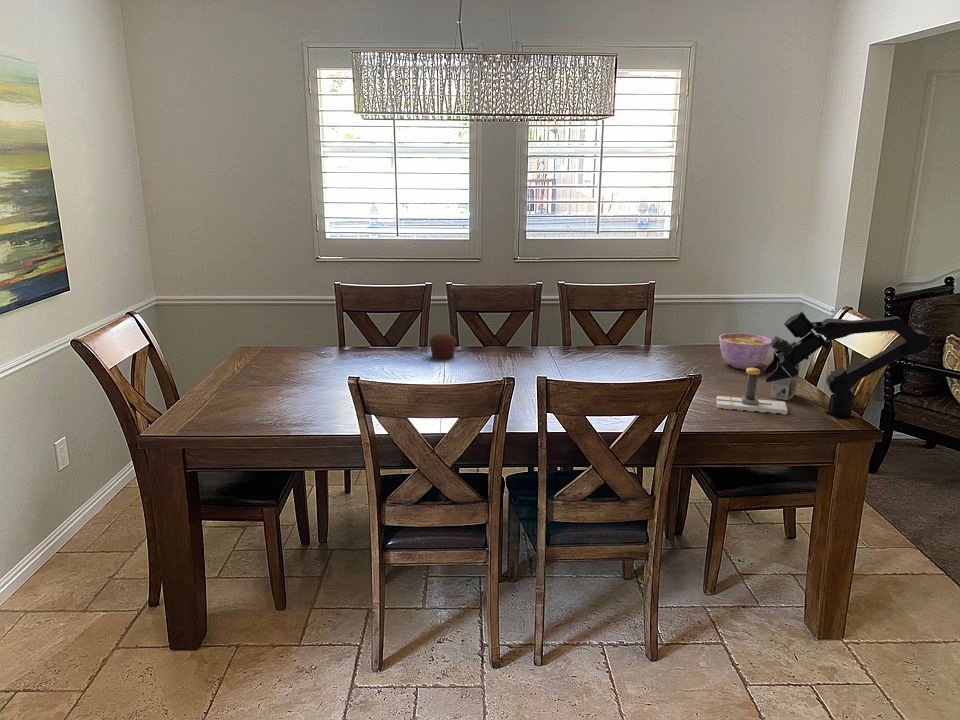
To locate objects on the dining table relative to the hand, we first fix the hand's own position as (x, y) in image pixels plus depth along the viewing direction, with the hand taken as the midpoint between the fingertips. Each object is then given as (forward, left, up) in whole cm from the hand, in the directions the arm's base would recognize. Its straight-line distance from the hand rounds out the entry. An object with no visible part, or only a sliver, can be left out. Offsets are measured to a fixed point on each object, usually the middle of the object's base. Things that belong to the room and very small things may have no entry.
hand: (764, 377), depth 243 cm
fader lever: (+2, +3, -9) cm, 10 cm away
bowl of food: (+45, -27, -11) cm, 53 cm away
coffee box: (+9, -16, -11) cm, 21 cm away
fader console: (+2, +3, -11) cm, 11 cm away
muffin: (+95, +85, -11) cm, 128 cm away
